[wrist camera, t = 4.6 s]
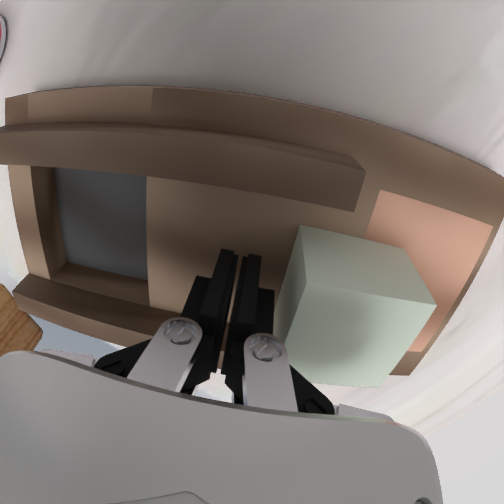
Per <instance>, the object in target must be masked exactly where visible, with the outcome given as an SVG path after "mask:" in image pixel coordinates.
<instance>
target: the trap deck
mask: <svg viewBox="0 0 504 504" xmlns="http://www.w3.org/2000/svg"><path fill="white" fill-rule="evenodd" d="M0 164H2V165H8V170H9V179H10V187H11V193H12V200H13V206H14V212H15V217H16V222H17V227H18V232H19V236H20V240H21V245H22V249H23V253H24V257H25V260H26V264H27V268H28V271H29V274H28V275H27V276H26V277H25V278H24V279H23V280H22V281H21V282H20V283H19V284H18V285H17V286H16V288H15V289H14V290H13V291H12V293H13V295H14V298H15V301H16V303H17V306H18V308H19V310H21V311H24V312H26V313H29V314H31V315H34V316H36V317H39V318H41V319H44V320H47V321H49V322H52V323H55V324H57V325H60V326H62V327H65V328H68V329H71V330H74V331H77V332H80V333H83V334H86V335H89V336H92V337H95V338H98V339H101V340H104V341H108V342H111V343H114V344H118V345H121V346H125V347H130V346H133V345H135V344H138V343H141V342H143V341H146V340H149V339H151V338H153V337H154V335H155V334H156V332H157V331H158V329H159V328H160V326H161V325H162V324H163V323H164V322H165V321H166V320H168V319H170V318H174V317H180V316H181V313H182V311H183V308H184V306H185V303H186V300H187V298H188V295H189V293H190V290H191V288H192V285H193V282H194V280H195V278H196V276H197V275H198V276H203V277H208V278H212V275H213V272H214V269H215V266H216V263H217V259H218V256H219V253H220V250H221V248H223V249H228V250H233V251H234V254H235V255H239V257H238V263H237V269H236V274H235V280H234V286H233V292H232V297H231V303H230V309H229V314H228V318H227V323H226V328H225V333H224V337H223V342H222V347H221V352H220V357H219V362H218V366H217V368H219V369H221V368H222V363H223V357H224V351H225V345H226V340H227V334H228V328H229V323H230V317H231V312H232V307H233V302H234V297H235V292H236V287H237V283H238V278H239V273H240V268H241V263H242V258H243V256H246V257H248V254H254V255H259V256H262V258H261V268H260V277H259V286H258V287H260V288H265V289H271V290H274V291H275V300H274V310H275V307H276V304H277V301H278V297H279V294H280V291H281V288H282V284H283V281H284V278H285V274H286V271H287V267H288V264H289V261H290V257H291V254H292V250H293V247H294V243H295V240H296V236H297V233H298V229H299V226H300V225H304V226H309V227H313V228H318V229H323V230H327V231H332V232H336V233H340V234H345V235H349V236H354V237H358V238H362V239H366V240H371V241H375V242H379V243H383V244H387V245H391V246H395V247H400V248H404V250H405V252H406V253H407V255H408V256H409V258H410V260H411V261H412V263H413V264H414V266H415V268H416V269H417V271H418V273H419V274H420V276H421V278H422V279H423V281H424V283H425V285H426V286H427V288H428V290H429V292H430V293H431V295H432V297H433V299H434V301H435V302H436V304H437V306H436V308H435V310H434V311H433V313H432V314H431V316H430V318H429V319H428V321H427V322H426V324H425V325H424V327H423V328H422V330H421V331H420V333H419V334H418V336H417V337H416V339H415V340H414V341H413V343H412V344H411V346H410V347H409V349H408V350H407V351H406V353H405V354H404V355H403V357H402V358H401V359H400V361H399V362H398V363H397V365H396V366H395V367H394V369H393V370H392V371H391V373H390V374H389V375H410V374H411V372H412V371H413V370H414V369H415V367H416V366H417V365H418V364H419V362H420V361H421V360H422V358H423V357H424V356H425V354H426V353H427V352H428V350H429V349H430V347H431V346H432V345H433V343H434V342H435V340H436V339H437V338H438V336H439V335H440V333H441V332H442V330H443V329H444V327H445V326H446V324H447V323H448V321H449V320H450V318H451V317H452V315H453V314H454V312H455V310H456V309H457V307H458V305H459V304H460V302H461V301H462V299H463V297H464V296H465V294H466V292H467V290H468V289H469V287H470V285H471V283H472V282H473V280H474V278H475V276H476V274H477V272H478V270H479V269H480V267H481V265H482V263H483V261H484V259H485V257H486V255H487V253H488V251H489V249H490V247H491V244H492V242H493V240H494V238H495V236H496V234H497V231H498V229H499V227H500V224H501V222H502V220H503V217H504V177H502V176H501V175H499V174H497V173H496V172H494V171H492V170H491V169H489V168H487V167H485V166H483V165H481V164H479V163H477V162H475V161H472V160H470V159H468V158H466V157H464V156H462V155H459V154H457V153H455V152H453V151H450V150H448V149H446V148H443V147H441V146H438V145H436V144H434V143H431V142H429V141H426V140H423V139H421V138H418V137H415V136H413V135H410V134H407V133H404V132H402V131H399V130H396V129H393V128H390V127H387V126H384V125H381V124H378V123H374V122H371V121H368V120H365V119H361V118H358V117H354V116H351V115H347V114H343V113H340V112H336V111H332V110H328V109H324V108H320V107H315V106H311V105H306V104H302V103H297V102H292V101H287V100H282V99H276V98H271V97H265V96H259V95H252V94H246V93H238V92H231V91H222V90H213V89H203V88H191V87H175V86H150V85H115V86H90V87H76V88H64V89H55V90H46V91H38V92H32V93H27V94H23V95H18V96H14V97H9V98H5V126H2V127H0Z"/></svg>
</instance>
